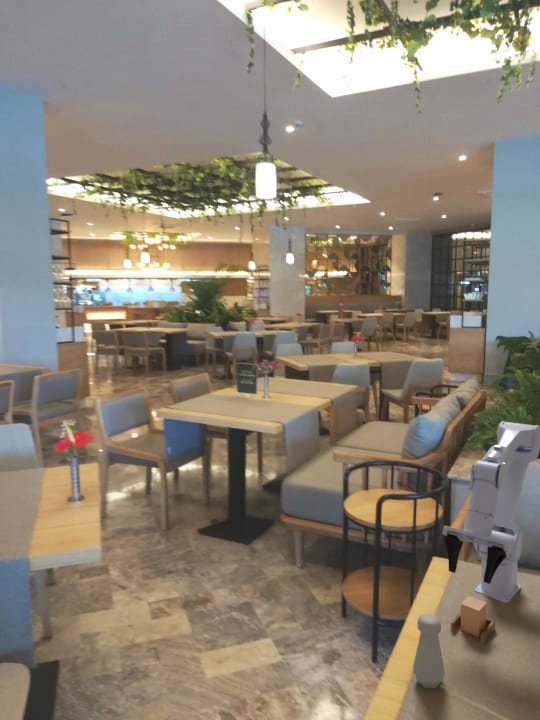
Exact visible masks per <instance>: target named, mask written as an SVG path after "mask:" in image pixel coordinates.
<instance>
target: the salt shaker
mask: <svg viewBox="0 0 540 720" xmlns="http://www.w3.org/2000/svg"><path fill="white" fill-rule="evenodd" d="M417 629H418V631H419V633H420V634H419V638H418V643H417V647H416V648H417V649H416V652H415V655H414V661H413V665H412V667H413V668H412V669H413V674H414V676H415V678H416V681H417V682H418V684H420V685H421V686H422V687H423V688H425V689H431V690H436V688H438V687H439V686H440V685H441V684H442V681H444V680H443V679H444V678H445V675H446V672H445V667H444V661H443V656H442V649H441V645H440V644H441V643H440V637H439V635H440V633H441V630H442V624H441V620H440V619H439V618H438V617H437V616H436V615H434V614H430V613H423V614H421V615H420V616H419V617H418V618H417Z"/></svg>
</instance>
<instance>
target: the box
mask: <svg viewBox="0 0 540 720" xmlns="http://www.w3.org/2000/svg"><path fill="white" fill-rule="evenodd" d="M495 627H496V621H495V620H492V619H490V618H488V617H486V629H485V630H484V631H483V632H482V634H481V635H480V636H479V637H477V636H475V635H473V634H470V633H468V632H466V631H463V630H461V611H460V612H459V613H458V614H457V615H456V616H455V617H454V619H452V621H450V631H452V632H454V633H457V634H458V635H461V636H464V637H466V638H468V639H471V640H473V641H475V642H478V643H480V644H484V643H485V642H486V641H487V639H488V638H489V637H490V636H491V635H492V633H493V632H494V631H495Z"/></svg>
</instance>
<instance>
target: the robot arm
mask: <svg viewBox="0 0 540 720" xmlns="http://www.w3.org/2000/svg"><path fill="white" fill-rule="evenodd" d="M496 429H497V430H496V438H497V439H496V440H497V444H494V445H493V446H491V447H490V448H489V449H488V450H487V452H486V453H485V454H484V456H483V457H482V459H480V460H477V461H474V462H473V463H472V466H471V467H470V468H471V469H470V475H469V477H470V484H469V491H470V495H469V500H468V506H467V510H466V514H465V515H466V516H465V521H464V525H463V529H460V528H456V527H452V526H451V527H450V526H448V525H443V528H442V535H443V536H444V538H443V539H444V543H445V547H446V550H447V551H446V552H447V557H448V558H447V559H448V572H451V573H453V574H455V573H456V572H457V567H458V560H459V555H460V553H461V550H462V547H463V544H464V541H466V542H470V543H474V544H473V546H474V548H475V550H476V552H478V553H479V555H478V556H479V557H481V563H480V564H481V567H480V568H481V569H480V570H481V572H480V573H481V574H480V577H481V578H480V583H479V584H478V586H476V587H475V588H474V592H476V593H479V594H481V595H484V596H487V597H489V598H490V599H491V598H492V599H494V600H497V601H500V602H503V603H505V604H509V602H510V601H511V600H512V598H513V597H514V596H516V594H517V593H518V592H519V590H521V588H522V586H521V584H518V566H519V565H518V561H519V560H520V557H521V555H522V550H523V540H524V538H523V537H524V535H523V531H522V529H521V528H520V527H519V525H518V524H517V523H516V522H515V517H516V513H517V509H518V505H519V503H520V502H519V501H520V496H521V494H522V493H521V492H522V489H523V486H524V485H523V484H524V481H525V477H526V472H527V470H528V468H529V465H530V464H531V463H533V462H536V461H537V459H538V457H539V455H540V425H538V424H536V425H533V424H526V423H517V422H509V421H505V420H502V421H501V422H500V423H499V424H498V426H497V428H496Z"/></svg>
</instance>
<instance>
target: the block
mask: <svg viewBox="0 0 540 720" xmlns="http://www.w3.org/2000/svg"><path fill="white" fill-rule="evenodd" d="M487 605H488V603H487V602H485V601H483V600H481V599H478V598H475V597H472V596H470V595H468V596H467V597H466V598H465V599H464V600H463V601H462V602H461V603H460V612H461V630H463V631H466V632H468V633H470V634H473V635H475V636H477V637H479V636H480V635H481V634H482V632H483V631H484V630H485V629H486V618H487V610H488V609H487V607H488V606H487Z"/></svg>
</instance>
